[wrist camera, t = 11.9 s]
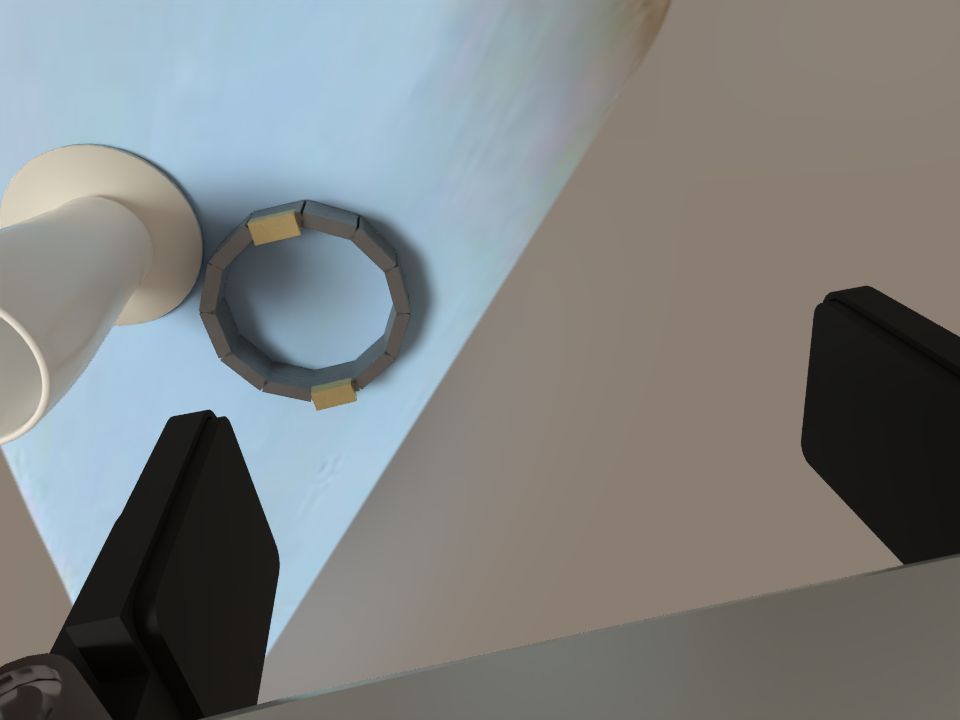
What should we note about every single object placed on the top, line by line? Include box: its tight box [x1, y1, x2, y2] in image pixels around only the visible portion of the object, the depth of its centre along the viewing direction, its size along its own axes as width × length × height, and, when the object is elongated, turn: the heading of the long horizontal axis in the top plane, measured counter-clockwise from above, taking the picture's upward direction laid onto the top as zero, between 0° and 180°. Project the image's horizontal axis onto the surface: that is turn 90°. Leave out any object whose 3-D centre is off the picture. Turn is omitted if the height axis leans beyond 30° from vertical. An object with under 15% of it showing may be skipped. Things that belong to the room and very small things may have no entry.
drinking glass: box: [0, 197, 154, 445], centre depth 30 cm, size 7×7×15 cm
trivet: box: [0, 144, 204, 326], centre depth 37 cm, size 10×10×1 cm
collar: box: [199, 200, 410, 410], centre depth 39 cm, size 12×11×3 cm
